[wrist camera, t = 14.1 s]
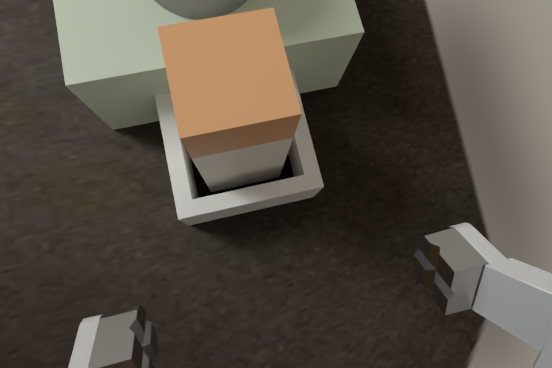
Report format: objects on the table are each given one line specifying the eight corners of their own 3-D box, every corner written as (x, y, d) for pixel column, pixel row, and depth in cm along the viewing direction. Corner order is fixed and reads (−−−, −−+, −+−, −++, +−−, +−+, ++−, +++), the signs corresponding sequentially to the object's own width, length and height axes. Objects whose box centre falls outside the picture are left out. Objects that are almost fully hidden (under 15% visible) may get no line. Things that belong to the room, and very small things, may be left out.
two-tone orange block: (279, 177, 27) (301, 113, 15) (211, 192, 26) (179, 138, 14) (263, 114, 28) (273, 7, 16) (197, 127, 27) (157, 26, 15)
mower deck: (365, 185, 27) (453, 129, 15) (131, 238, 25) (26, 222, 13) (299, -45, 31) (329, -234, 19) (89, -14, 29) (-23, -201, 17)
